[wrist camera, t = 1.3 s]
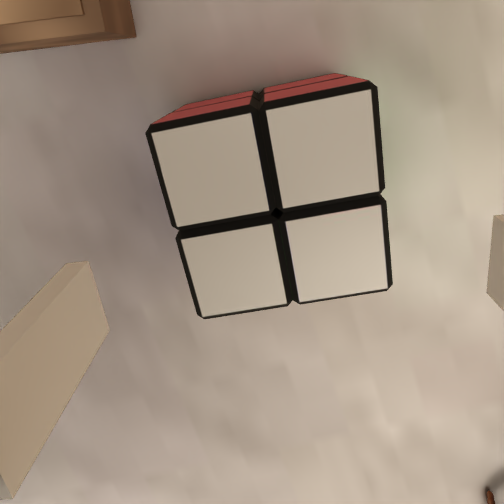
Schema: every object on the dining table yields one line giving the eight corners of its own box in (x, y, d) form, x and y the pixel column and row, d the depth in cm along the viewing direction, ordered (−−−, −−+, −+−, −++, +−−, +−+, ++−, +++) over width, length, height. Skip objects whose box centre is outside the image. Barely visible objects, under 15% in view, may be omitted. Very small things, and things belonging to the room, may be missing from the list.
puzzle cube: (180, 104, 28) (140, 127, 19) (339, 71, 27) (378, 77, 18) (216, 247, 32) (198, 324, 23) (356, 223, 31) (395, 292, 22)
